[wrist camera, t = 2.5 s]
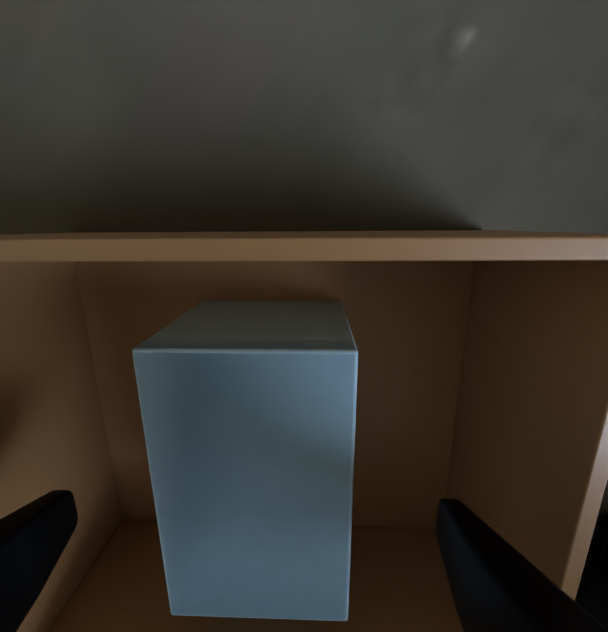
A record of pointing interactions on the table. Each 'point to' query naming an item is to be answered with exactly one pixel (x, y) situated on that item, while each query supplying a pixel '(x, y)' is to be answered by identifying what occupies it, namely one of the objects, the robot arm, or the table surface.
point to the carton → (371, 405)
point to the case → (253, 457)
